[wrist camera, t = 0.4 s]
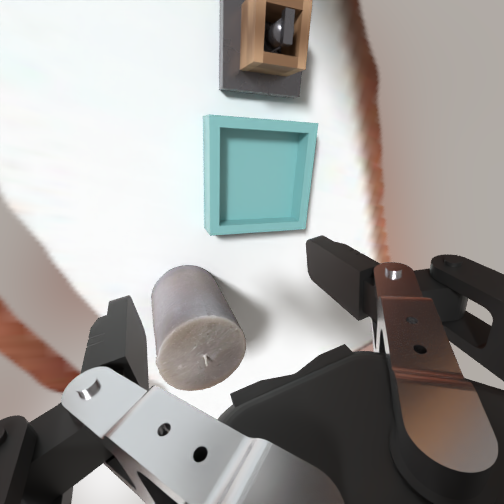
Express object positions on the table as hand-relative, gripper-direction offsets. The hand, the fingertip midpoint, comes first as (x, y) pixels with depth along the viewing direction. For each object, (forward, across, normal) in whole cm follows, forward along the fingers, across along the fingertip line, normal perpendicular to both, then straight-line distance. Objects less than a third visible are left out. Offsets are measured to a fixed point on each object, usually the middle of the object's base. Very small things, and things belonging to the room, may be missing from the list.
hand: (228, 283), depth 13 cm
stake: (+27, -15, -13) cm, 33 cm away
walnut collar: (+26, -15, -13) cm, 32 cm away
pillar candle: (+27, +2, +16) cm, 31 cm away
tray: (+27, -11, +2) cm, 29 cm away
